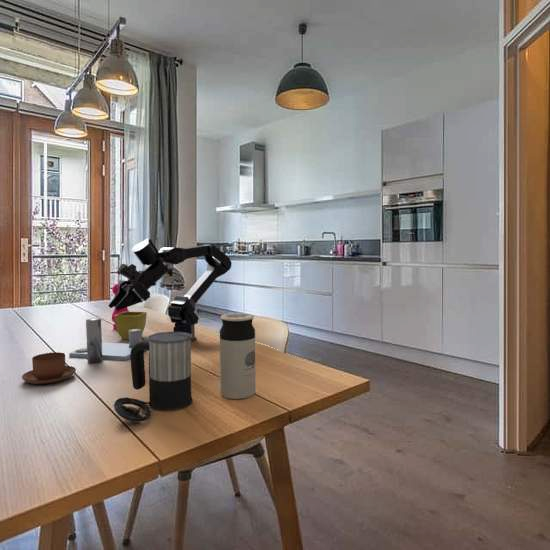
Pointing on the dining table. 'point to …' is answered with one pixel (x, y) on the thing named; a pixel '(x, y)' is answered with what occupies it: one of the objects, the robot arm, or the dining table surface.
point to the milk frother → (160, 375)
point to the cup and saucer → (48, 369)
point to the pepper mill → (115, 291)
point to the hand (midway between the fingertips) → (112, 308)
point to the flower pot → (129, 322)
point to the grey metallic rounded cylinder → (94, 340)
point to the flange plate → (114, 348)
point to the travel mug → (237, 356)
